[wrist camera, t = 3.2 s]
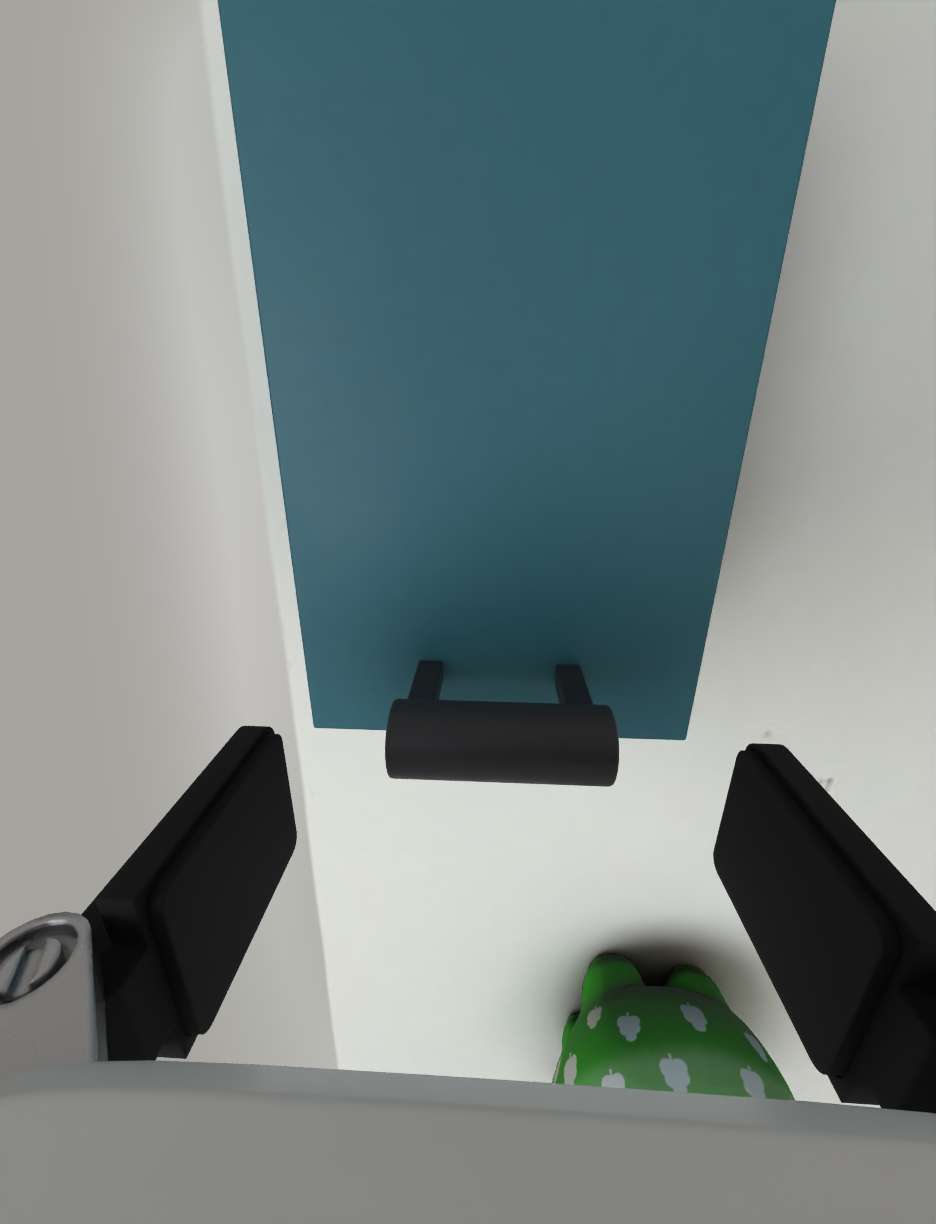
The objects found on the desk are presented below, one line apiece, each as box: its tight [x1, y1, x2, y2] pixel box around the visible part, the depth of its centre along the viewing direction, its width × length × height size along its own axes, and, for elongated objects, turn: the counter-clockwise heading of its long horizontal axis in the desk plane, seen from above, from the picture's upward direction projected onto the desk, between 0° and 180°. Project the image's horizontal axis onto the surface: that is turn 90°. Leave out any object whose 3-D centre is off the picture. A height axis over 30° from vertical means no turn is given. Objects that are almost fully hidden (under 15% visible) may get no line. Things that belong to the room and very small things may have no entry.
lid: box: [218, 0, 836, 786], centre depth 10 cm, size 19×12×5 cm, turn 0°
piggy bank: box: [552, 955, 795, 1101], centre depth 29 cm, size 14×18×15 cm
